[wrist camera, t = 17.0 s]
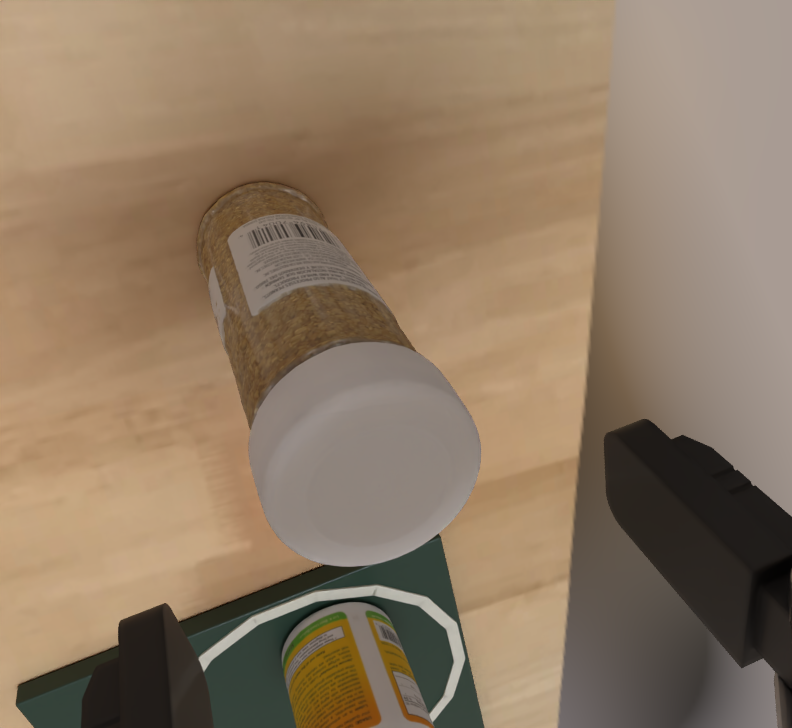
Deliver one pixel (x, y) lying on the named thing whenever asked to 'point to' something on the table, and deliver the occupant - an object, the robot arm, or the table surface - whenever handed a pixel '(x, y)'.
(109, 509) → the table surface
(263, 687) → the chalkboard
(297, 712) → the supplement bottle
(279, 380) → the spice jar
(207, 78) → the table surface
